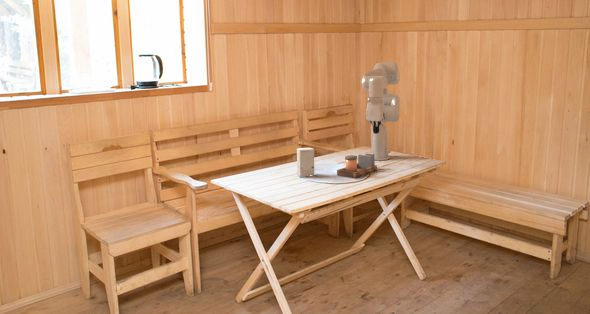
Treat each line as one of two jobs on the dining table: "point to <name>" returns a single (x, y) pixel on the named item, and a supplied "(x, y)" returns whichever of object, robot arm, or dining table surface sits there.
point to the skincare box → (305, 162)
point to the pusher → (366, 160)
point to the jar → (351, 163)
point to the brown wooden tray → (357, 174)
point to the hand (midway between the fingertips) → (376, 133)
